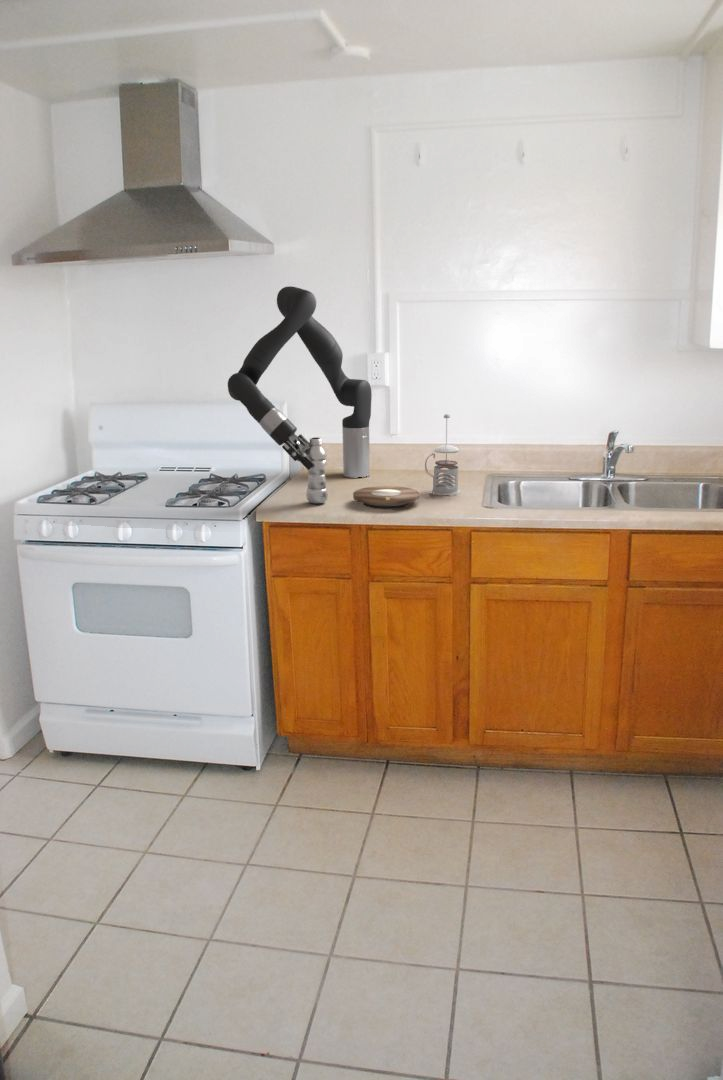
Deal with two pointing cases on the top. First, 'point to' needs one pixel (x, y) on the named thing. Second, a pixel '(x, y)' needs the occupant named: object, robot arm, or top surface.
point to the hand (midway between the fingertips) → (315, 465)
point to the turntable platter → (386, 495)
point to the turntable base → (386, 506)
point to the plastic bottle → (316, 472)
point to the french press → (445, 486)
